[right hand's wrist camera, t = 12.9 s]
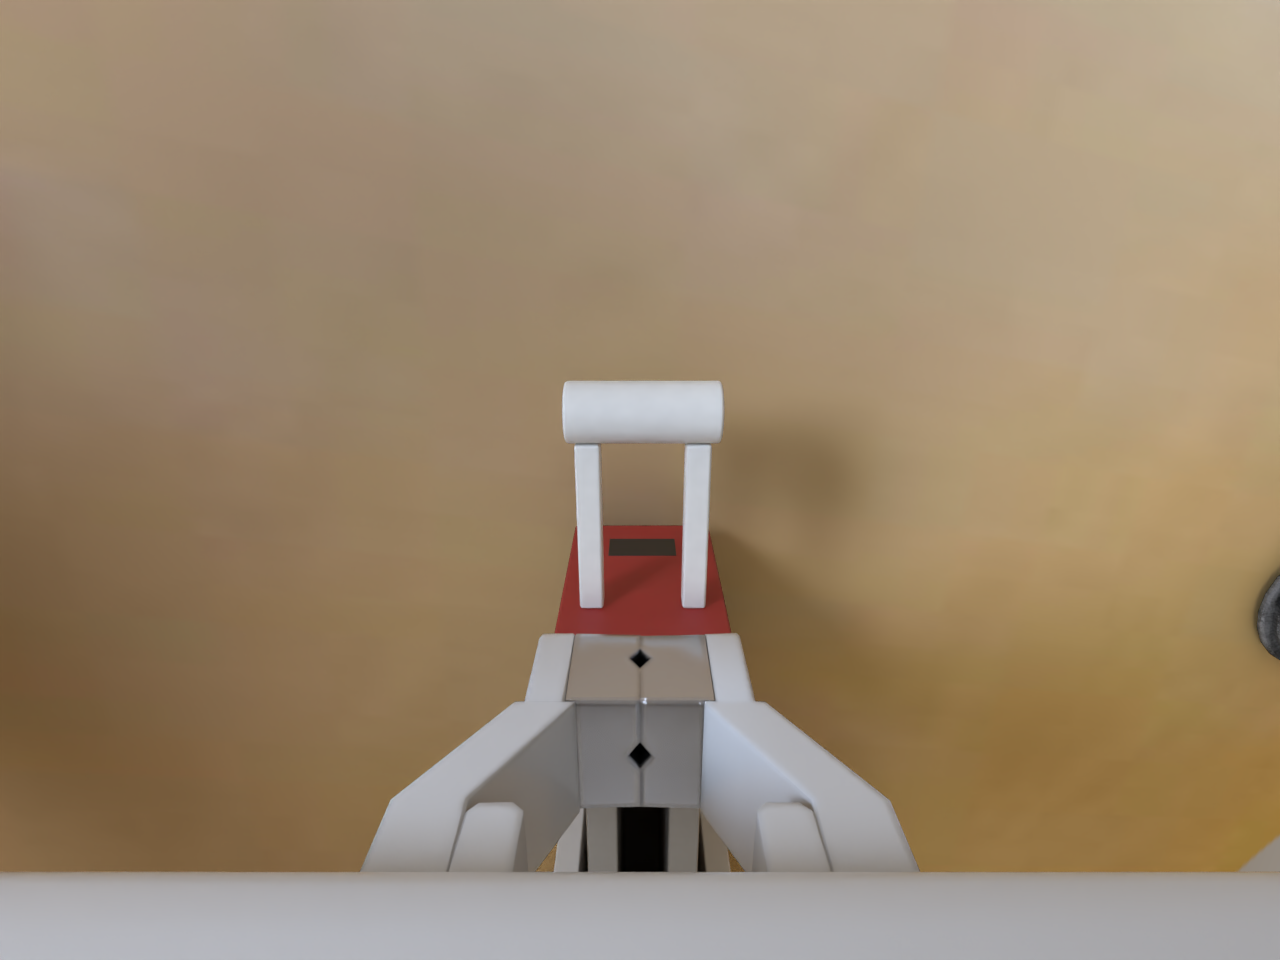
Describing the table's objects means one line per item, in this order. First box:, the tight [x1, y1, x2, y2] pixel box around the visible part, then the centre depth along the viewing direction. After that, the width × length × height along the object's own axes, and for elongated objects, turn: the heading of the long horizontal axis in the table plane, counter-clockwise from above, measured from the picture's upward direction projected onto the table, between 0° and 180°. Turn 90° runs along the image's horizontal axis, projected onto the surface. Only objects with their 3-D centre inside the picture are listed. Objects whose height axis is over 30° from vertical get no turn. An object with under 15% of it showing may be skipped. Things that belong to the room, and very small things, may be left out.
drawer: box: [555, 381, 731, 872], centre depth 21 cm, size 22×4×7 cm, turn 0°
